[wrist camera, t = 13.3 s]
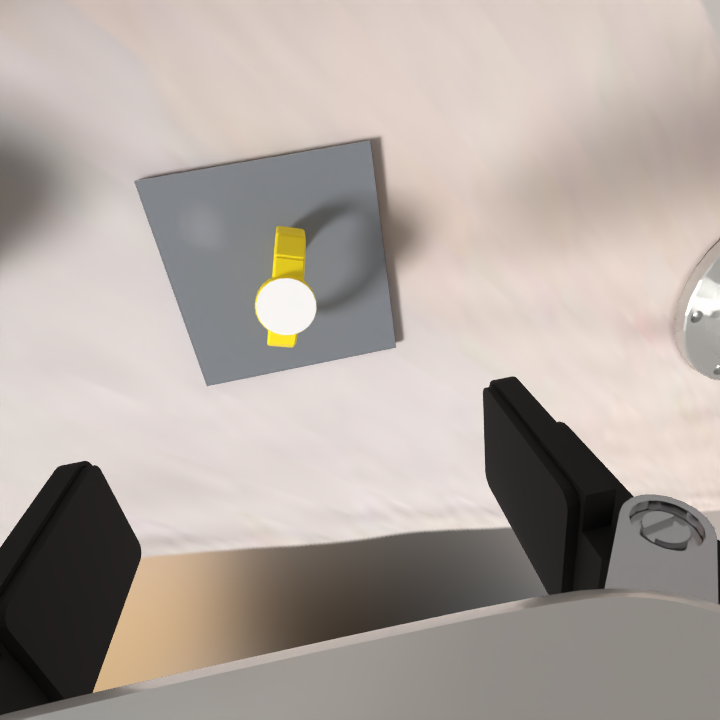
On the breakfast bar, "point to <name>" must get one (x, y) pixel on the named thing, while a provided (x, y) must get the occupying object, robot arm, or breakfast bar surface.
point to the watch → (286, 291)
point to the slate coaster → (256, 254)
